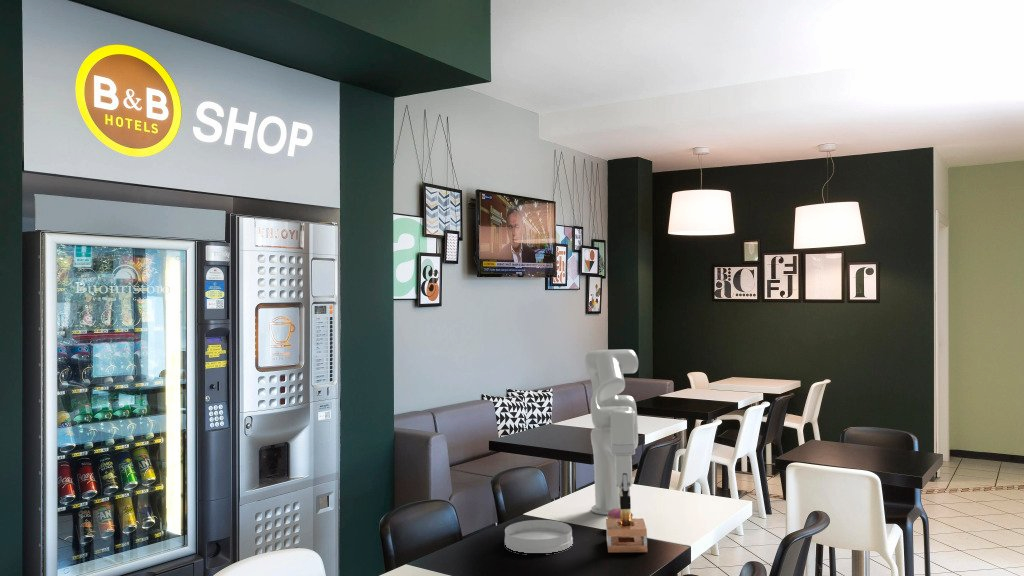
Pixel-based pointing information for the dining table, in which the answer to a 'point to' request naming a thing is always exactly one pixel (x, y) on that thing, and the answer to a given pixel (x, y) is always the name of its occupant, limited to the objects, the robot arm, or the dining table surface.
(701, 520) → the dining table surface
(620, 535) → the collar stand
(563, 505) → the dining table surface
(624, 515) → the air tube
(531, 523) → the dish
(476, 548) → the dining table surface
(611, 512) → the cupcake
